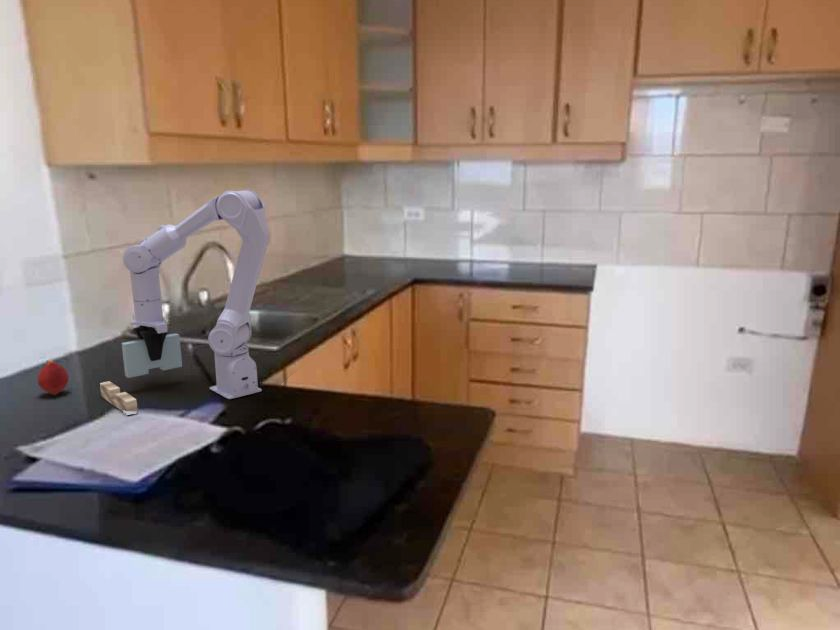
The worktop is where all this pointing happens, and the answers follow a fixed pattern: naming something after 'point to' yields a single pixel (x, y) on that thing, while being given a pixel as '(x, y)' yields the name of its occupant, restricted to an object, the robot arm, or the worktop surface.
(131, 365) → the teal plate
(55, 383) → the onion
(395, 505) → the worktop surface
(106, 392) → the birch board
